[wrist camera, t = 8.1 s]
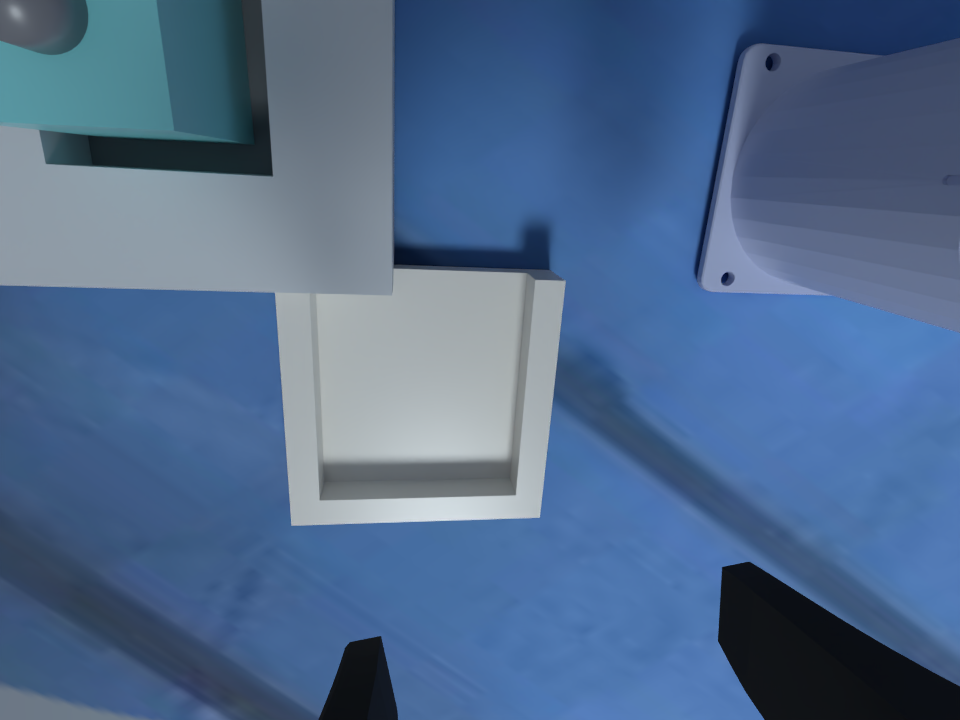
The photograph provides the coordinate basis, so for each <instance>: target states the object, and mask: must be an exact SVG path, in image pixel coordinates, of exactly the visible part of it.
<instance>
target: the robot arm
mask: <svg viewBox="0 0 960 720" xmlns="http://www.w3.org/2000/svg"><path fill="white" fill-rule="evenodd" d="M768 56H770V57H771V58H772V60H773V66H772V68H771V70H770V71H769V70H767V68H766V65H765V61H766V59H767V57H768ZM726 272H728V279H727V281H726V282H725V283H723V284H722V283H721V277H722V275H723V274H724V273H726ZM697 282H698V284H699V286H700V287H701V288H702V289H704V290H707V291H710V292H736V293H769V294H802V295H832V296H836V297H839V298H842V299H846V300H849V301H853V302H856V303H860V304H863V305H866V306H870V307H873V308H877V309H880V310H883V311H887V312H890V313H894V314H897V315H901V316H904V317H907V318H911V319H914V320H918V321H921V322H924V323H928V324H931V325H935V326H938V327H941V328H945V329H948V330H952V331H955V332H959V333H960V38H957V39H953V40H949V41H944V42H940V43H936V44H932V45H928V46H924V47H919V48H915V49H911V50H907V51H903V52H899V53H894V54H890V55H886V56H881V55H871V54H861V53H852V52H842V51H832V50H822V49H812V48H803V47H793V46H783V45H773V44H763V43H760V44H755V45H752V46H749V47H748V48H746V49H745V50H744V51H743V52H742V54H741V55H740V57H739V60H738V64H737V70H736V75H735V80H734V85H733V91H732V96H731V101H730V107H729V112H728V117H727V122H726V128H725V133H724V138H723V143H722V149H721V154H720V159H719V164H718V170H717V175H716V180H715V186H714V191H713V196H712V201H711V207H710V212H709V217H708V222H707V228H706V233H705V238H704V243H703V249H702V254H701V259H700V265H699V270H698V275H697ZM718 642H719V644H720V646H721V648H722V649H723V651H724V653H725V655H726V657H727V659H728V661H729V663H730V665H731V666H732V668H733V670H734V672H735V674H736V675H737V677H738V679H739V681H740V683H741V684H742V686H743V688H744V690H745V691H746V693H747V694H748V696H749V697H750V699H751V700H752V702H753V703H754V705H755V706H756V708H757V709H758V711H759V712H760V714H761V715H762V716H763V718H764V719H765V720H960V686H958V685H956V684H954V683H952V682H950V681H948V680H946V679H945V678H943V677H941V676H939V675H937V674H935V673H933V672H931V671H930V670H928V669H926V668H924V667H922V666H921V665H919V664H917V663H915V662H913V661H912V660H910V659H908V658H906V657H905V656H903V655H901V654H899V653H897V652H896V651H894V650H892V649H890V648H889V647H887V646H885V645H883V644H882V643H880V642H878V641H877V640H875V639H873V638H871V637H870V636H868V635H866V634H865V633H863V632H861V631H860V630H858V629H856V628H855V627H853V626H851V625H850V624H848V623H847V622H845V621H843V620H842V619H840V618H838V617H837V616H835V615H834V614H832V613H830V612H829V611H827V610H826V609H824V608H822V607H821V606H819V605H818V604H816V603H814V602H813V601H811V600H810V599H808V598H806V597H805V596H803V595H802V594H800V593H799V592H797V591H795V590H794V589H792V588H791V587H789V586H788V585H786V584H784V583H783V582H781V581H780V580H778V579H777V578H775V577H773V576H772V575H770V574H769V573H767V572H765V571H764V570H762V569H761V568H759V567H757V566H756V565H754V564H752V563H751V562H745V563H740V564H735V565H730V566H725V567H722V581H721V598H720V616H719V634H718ZM319 720H398V713H397V707H396V702H395V698H394V693H393V689H392V684H391V679H390V675H389V670H388V666H387V661H386V657H385V652H384V648H383V643H382V639H381V636H379V637H374V638H369V639H364V640H359V641H354V642H350V643H349V644H348V645H347V646H346V648H345V650H344V653H343V657H342V660H341V663H340V666H339V668H338V671H337V674H336V677H335V680H334V682H333V685H332V687H331V690H330V693H329V695H328V698H327V700H326V703H325V705H324V708H323V710H322V713H321V715H320V717H319Z"/></svg>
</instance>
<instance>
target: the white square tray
mask: <svg viewBox="0 0 960 720" xmlns="http://www.w3.org/2000/svg"><path fill="white" fill-rule="evenodd" d="M565 282H566V281H565V280H564V279H562V278H561V277H559V276H558V275H556V274H555V273H554V272H552V271H551V270H535V269H506V268H477V267H448V266H419V265H394V268H393V292H392V296H389V295H351V294H314V293H276V292H275V297H276V311H277V326H278V340H279V354H280V368H281V382H282V396H283V411H284V425H285V439H286V453H287V467H288V481H289V495H290V510H291V524H292V526H296V525H327V524H357V523H388V522H419V521H450V520H481V519H512V518H540V511H541V502H542V493H543V484H544V474H545V465H546V456H547V447H548V438H549V429H550V419H551V410H552V401H553V392H554V383H555V374H556V364H557V355H558V346H559V337H560V328H561V319H562V309H563V300H564V291H565Z"/></svg>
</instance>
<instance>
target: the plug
mask: <svg viewBox="0 0 960 720" xmlns="http://www.w3.org/2000/svg"><path fill="white" fill-rule="evenodd" d="M0 126H9V127H18V128H27V129H36V130H45V131H54V132H63V133H72V134H81V135H90V136H99V137H108V138H124V139H145V140H166V141H188V142H209V143H231V144H252V145H255V143H254V132H253V121H252V110H251V100H250V89H249V78H248V67H247V56H246V45H245V35H244V24H243V13H242V2H241V0H0Z"/></svg>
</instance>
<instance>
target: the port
mask: <svg viewBox="0 0 960 720" xmlns="http://www.w3.org/2000/svg"><path fill="white" fill-rule="evenodd" d="M241 2H242V13H243V24H244V35H245V45H246V56H247V67H248V78H249V89H250V100H251V110H252V121H253V132H254V143H255V145H252V144H231V143H209V142H188V141H166V140H145V139H124V138H108V137H99V136H90V135H81V134H72V133H63V132H54V131H45V130H36V129H27V128H18V127H9V126H0V285H12V286H50V287H88V288H125V289H163V290H201V291H238V292H276V293H314V294H351V295H389V296H392V292H393V268H394V90H395V0H241Z"/></svg>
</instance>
